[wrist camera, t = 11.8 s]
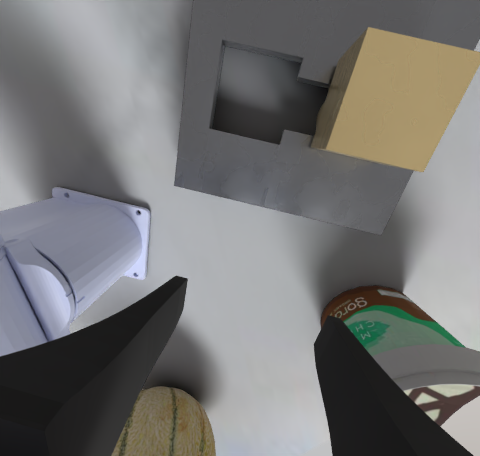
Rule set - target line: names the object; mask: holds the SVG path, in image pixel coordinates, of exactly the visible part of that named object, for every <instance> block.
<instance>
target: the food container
mask: <svg viewBox="0 0 480 456" xmlns="http://www.w3.org/2000/svg"><path fill="white" fill-rule="evenodd" d="M328 315H329V316H333V317H337V318H340V319H341V320H342V321H343V322H344V323H345V324H346V326H347V327H348V328H349V329H350V330H351V332H352V333H353V334H354V335H355V337H356V338H357V339H358V340H359V341H360V343H361V344H362V345H363V346H364V348H365V349H366V350H367V351H368V352H369V354H370V355H371V356H372V357H373V358H374V359H375V361H376V362H377V363H378V364H379V365H380V366H381V368H382V369H383V370H384V371H385V372H386V373H387V374H388V375H389V376H390V378H391V379H392V380H393V381H394V382H395V383H396V384H397V385H398V386H399V387H400V388H401V389H402V390H403V391H404V392H405V393H406V394H407V395H408V396H409V397H410V398H411V399H412V400H413V401H414V402H415V403H416V404H417V405H418V406H419V407H420V408H421V409H422V410H423V411H424V412H425V413H426V414H427V415H428V416H429V417H430V418H431V419H432V420H433V421H435V422H436V423H437V424H438V425H439V426H441V425H442V424H443V423H444V422H445V421H446V420H447V419H448V418H449V417H450V416H451V415H452V414H453V413H455V412H456V411H457V410H459V409H460V408H461V407H462V406H463V405H465V404H466V403H468V402H470V401H471V400H473V399H475V398H476V397H478V396H480V352H479V351H476V350H472V349H469V348H466V347H465V346H464V345H462V344H461V343H460V342H459V341H458V340H457V339H455V338H454V337H453V336H452V335H451V334H450V333H449V332H447V331H446V330H445V329H444V328H443V327H442V326H440V325H439V324H438V323H437V322H436V321H435V320H433V319H432V318H431V317H430V316H429V315H428V314H426V313H425V312H424V311H423V310H422V309H421V308H419V307H418V306H417V305H416V304H415V303H414V302H413V301H411V300H410V299H409V298H408V297H407V296H406V295H404V294H403V293H401V292H399V291H397V290H395V289H393V288H388V287H382V286H376V285H375V286H361V287H357V288H354V289H351V290H348V291H345V292H343V293H341V294H340V295H338V296H337V297H335V298H334V299H333V300H332V301H330V302H329V304H328V305H327V306H326V308H325V309H324V311H323V314H322V317H321V329H322V327H323V324H324V322H325V320H326V318H327V316H328Z"/></svg>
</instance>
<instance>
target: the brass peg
mask: <svg viewBox="0 0 480 456" xmlns="http://www.w3.org/2000/svg"><path fill="white" fill-rule="evenodd" d="M479 65H480V52H477V51H472V50H468V49H464V48H459V47H455V46H450V45H446V44H441V43H437V42H433V41H428V40H424V39H419V38H415V37H410V36H406V35H402V34H397V33H393V32H388V31H384V30H379V29H375V28H371V27H368V28H367V29H366V30H365V31H364V32H363V33H362V35H361V36H360V37H359V38H358V39H357V40H356V41H355V42H354V44H353V45H352V46H351V47H350V48H349V49H348V50H347V51H346V52H345V54H344V55H343V56H342V57H341V58H340V59H339V60H338V63H337V66H336V69H335V73H334V76H333V79H332V82H331V85H330V88H329V91H328V94H327V97H326V101H325V102H324V103H323V105H322V106H321V108H320V110H319V112H318V115H317V119H316V132H315V135H314V138H313V141H312V144H311V148H316V149H320V150H324V151H328V152H333V153H337V154H341V155H345V156H349V157H354V158H358V159H362V160H366V161H370V162H375V163H379V164H383V165H388V166H393V167H399V168H404V169H409V170H414V171H419V172H424V170H425V168H426V166H427V164H428V162H429V160H430V158H431V156H432V155H433V153H434V151H435V149H436V147H437V145H438V143H439V141H440V139H441V137H442V136H443V134H444V132H445V130H446V128H447V126H448V124H449V122H450V120H451V118H452V116H453V115H454V113H455V111H456V109H457V107H458V105H459V103H460V101H461V99H462V97H463V95H464V94H465V92H466V90H467V88H468V86H469V84H470V82H471V80H472V78H473V76H474V74H475V73H476V71H477V69H478V67H479Z"/></svg>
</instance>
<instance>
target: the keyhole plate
mask: <svg viewBox="0 0 480 456" xmlns="http://www.w3.org/2000/svg"><path fill="white" fill-rule="evenodd" d="M368 27H371V28H375V29H379V30H384V31H388V32H393V33H397V34H402V35H406V36H410V37H415V38H419V39H424V40H428V41H433V42H437V43H441V44H446V45H450V46H455V47H459V48H464V49H468V50H472V51H474V49H475V47H476V45H477V43H478V41H479V39H480V0H193V8H192V18H191V28H190V37H189V47H188V57H187V66H186V76H185V86H184V95H183V105H182V115H181V124H180V134H179V144H178V153H177V163H176V173H175V182H174V186H177V187H182V188H186V189H190V190H194V191H198V192H202V193H207V194H211V195H215V196H219V197H223V198H227V199H232V200H236V201H240V202H244V203H248V204H252V205H257V206H261V207H265V208H269V209H273V210H277V211H282V212H286V213H290V214H294V215H298V216H302V217H307V218H311V219H315V220H319V221H323V222H327V223H332V224H336V225H340V226H344V227H348V228H352V229H357V230H361V231H365V232H369V233H373V234H377V235H382V233H383V231H384V229H385V227H386V225H387V223H388V221H389V219H390V217H391V215H392V213H393V211H394V209H395V207H396V205H397V203H398V201H399V199H400V197H401V195H402V193H403V191H404V189H405V187H406V185H407V183H408V181H409V179H410V177H411V175H412V173H413V171H414V170H409V169H404V168H399V167H393V166H388V165H383V164H379V163H375V162H370V161H366V160H362V159H358V158H354V157H349V156H345V155H341V154H337V153H333V152H328V151H324V150H320V149H316V148H311V144H312V141H313V138H314V136H311V135H307V134H302V133H298V132H294V131H289V130H285V129H284V130H283V133H282V137H281V141H280V144H279V145H278V144H274V143H269V142H265V141H261V140H256V139H252V138H248V137H244V136H239V135H235V134H231V133H226V132H222V131H218V130H214V129H212V127H213V121H214V114H215V108H216V101H217V95H218V88H219V82H220V75H221V69H222V62H223V56H224V49H225V46H227V47H232V48H236V49H240V50H245V51H249V52H254V53H258V54H263V55H267V56H272V57H276V58H280V59H285V60H289V61H294V62H298V63H301V65H300V69H299V73H298V77H297V80H296V81H298V82H302V83H307V84H311V85H315V86H320V87H324V88H330V85H331V82H332V79H333V76H334V73H335V69H336V66H337V63H338V60H339V59H340V58H341V57H342V56H343V55H344V54H345V52H346V51H347V50H348V49H349V48H350V47H351V46H352V45H353V44H354V42H355V41H356V40H357V39H358V38H359V37H360V36H361V35H362V33H363V32H364V31H365V30H366V29H367V28H368Z"/></svg>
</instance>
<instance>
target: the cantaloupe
mask: <svg viewBox="0 0 480 456" xmlns="http://www.w3.org/2000/svg"><path fill="white" fill-rule="evenodd" d="M112 456H216V452H215V441H214V435H213V432H212V428H211V424H210V422H209V419H208V417H207V415H206V412H205V410H204V408H203V407H202V405H201V404H200V403H199V402H198V401H197V400H196V399H194V398H193V397H192V396H191V395H189V394H188V393H186V392H184V391H183V390H181V389H176V388H174V387H172V388H169V387H163V386H157V387H152V388H149V389H146V390H141V391H140V393H139V396H138V398H137V400H136V402H135V404H134V406H133V409H132V411H131V413H130V415H129V417H128V420H127V422H126V424H125V426H124V428H123V431H122V433H121V435H120V437H119V440H118V442H117V444H116V447H115V449H114V451H113V453H112Z"/></svg>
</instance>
